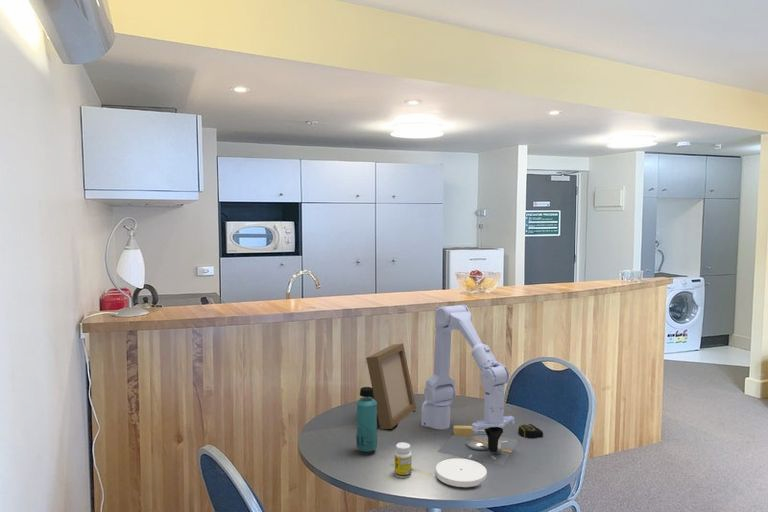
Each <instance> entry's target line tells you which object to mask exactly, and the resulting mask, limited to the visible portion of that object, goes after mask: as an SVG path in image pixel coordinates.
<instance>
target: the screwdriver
mask: <svg viewBox="0 0 768 512" xmlns="http://www.w3.org/2000/svg"><path fill="white" fill-rule="evenodd" d="M452 432H453V435H455V436H473V432H475V431H473V430H472V425H453V431H452ZM478 433H486V432H485V430H484V429H483V430H479V431H478Z"/></svg>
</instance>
